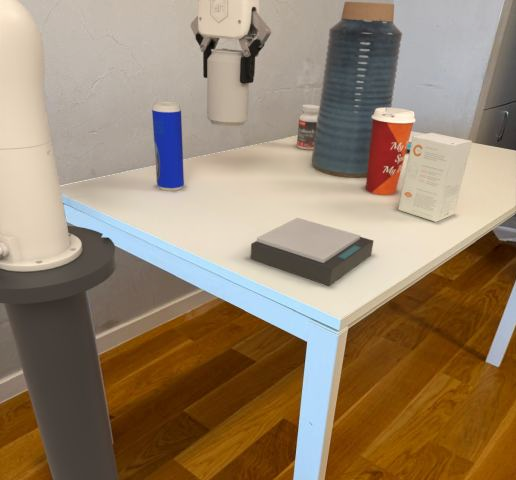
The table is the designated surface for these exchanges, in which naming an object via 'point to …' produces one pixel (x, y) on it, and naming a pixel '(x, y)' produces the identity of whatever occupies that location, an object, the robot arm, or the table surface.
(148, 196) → the table surface
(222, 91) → the can
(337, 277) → the scale
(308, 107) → the pill bottle
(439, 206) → the small box
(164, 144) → the beverage can
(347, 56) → the vase
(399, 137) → the coffee cup
